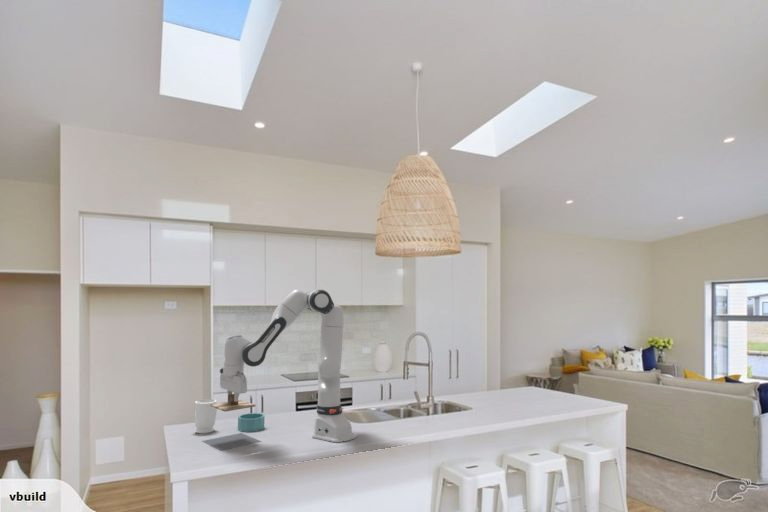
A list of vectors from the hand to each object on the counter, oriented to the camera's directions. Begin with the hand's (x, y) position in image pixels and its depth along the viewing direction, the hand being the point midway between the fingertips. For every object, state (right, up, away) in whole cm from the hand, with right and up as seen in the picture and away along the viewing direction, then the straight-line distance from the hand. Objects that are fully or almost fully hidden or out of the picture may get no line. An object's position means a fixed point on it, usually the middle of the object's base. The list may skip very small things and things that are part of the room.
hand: (233, 400), depth 225 cm
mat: (0, -19, -2) cm, 19 cm away
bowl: (+3, -21, +21) cm, 30 cm away
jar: (-19, -21, +17) cm, 33 cm away
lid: (0, -3, 0) cm, 3 cm away
